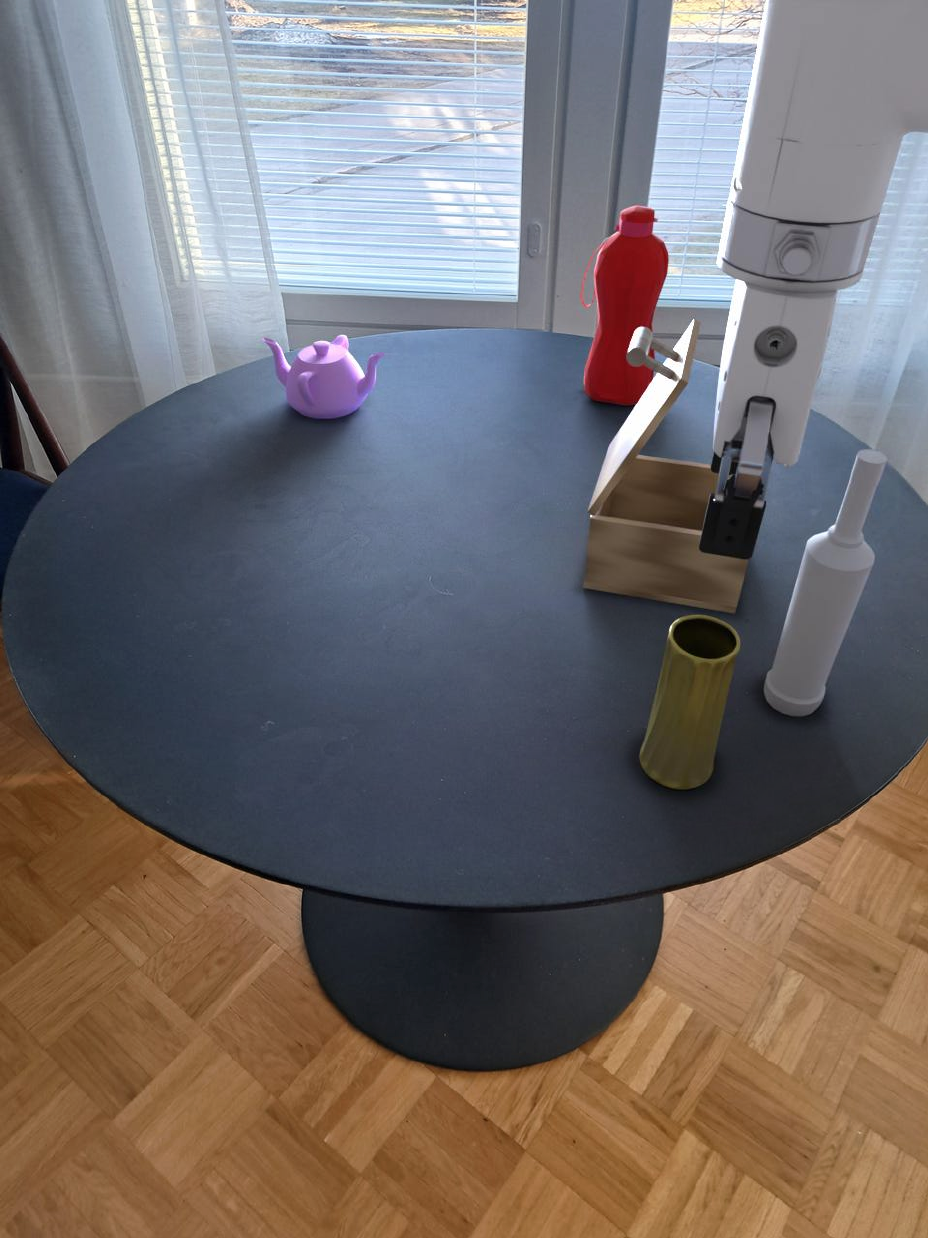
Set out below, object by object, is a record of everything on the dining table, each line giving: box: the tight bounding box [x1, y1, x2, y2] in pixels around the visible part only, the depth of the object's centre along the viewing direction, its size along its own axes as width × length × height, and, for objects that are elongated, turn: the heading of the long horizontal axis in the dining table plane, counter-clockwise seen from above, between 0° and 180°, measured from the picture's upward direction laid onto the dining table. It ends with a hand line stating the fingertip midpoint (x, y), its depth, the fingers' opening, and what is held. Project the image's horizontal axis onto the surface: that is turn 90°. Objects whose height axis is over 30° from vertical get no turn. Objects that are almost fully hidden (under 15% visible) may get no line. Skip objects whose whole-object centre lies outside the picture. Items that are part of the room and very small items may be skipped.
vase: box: [639, 614, 741, 791], centre depth 69 cm, size 6×6×14 cm
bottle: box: [763, 448, 888, 717], centre depth 71 cm, size 5×5×25 cm
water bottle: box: [580, 205, 670, 407], centre depth 118 cm, size 9×11×25 cm
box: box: [582, 454, 750, 615], centre depth 92 cm, size 16×14×9 cm
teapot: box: [262, 334, 387, 420], centre depth 121 cm, size 12×14×9 cm
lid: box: [587, 318, 702, 516], centre depth 85 cm, size 16×14×5 cm
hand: (729, 511), depth 57 cm, fingers open, 9 cm apart
